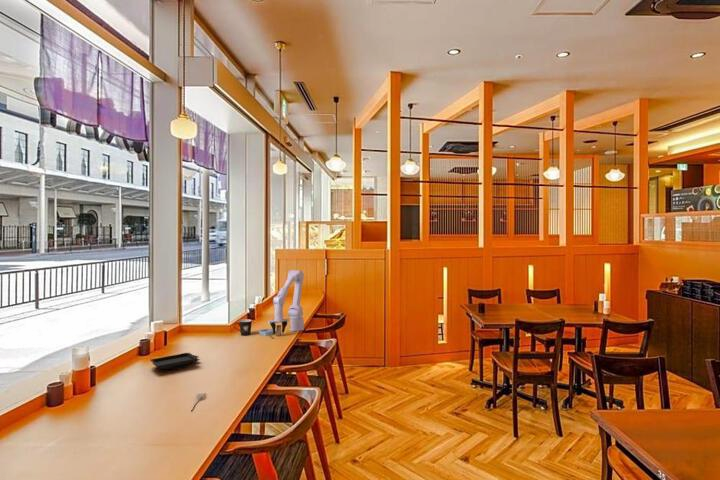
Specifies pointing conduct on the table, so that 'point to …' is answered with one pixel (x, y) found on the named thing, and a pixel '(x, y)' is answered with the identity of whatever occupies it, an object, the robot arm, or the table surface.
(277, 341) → the table surface
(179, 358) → the tray
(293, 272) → the robot arm
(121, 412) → the table surface
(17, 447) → the table surface
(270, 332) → the bead ring
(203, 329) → the table surface
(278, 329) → the needle dowel
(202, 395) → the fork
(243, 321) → the coffee mug
